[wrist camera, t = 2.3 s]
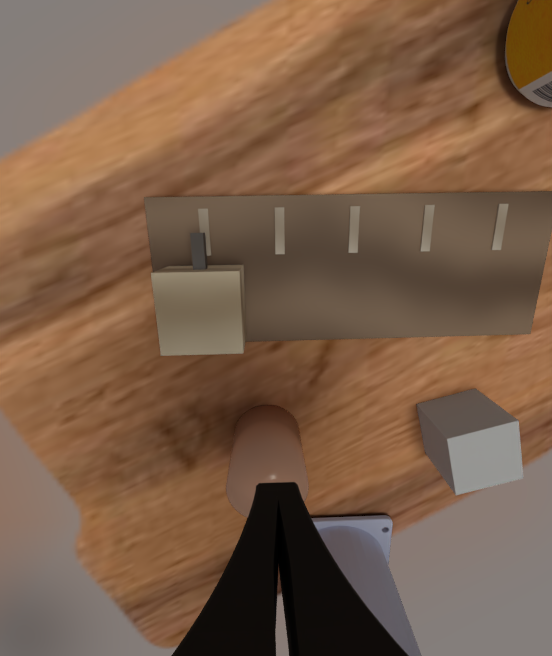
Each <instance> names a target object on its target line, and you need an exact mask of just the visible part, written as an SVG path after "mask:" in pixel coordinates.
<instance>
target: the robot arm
mask: <svg viewBox="0 0 552 656" xmlns="http://www.w3.org/2000/svg"><path fill="white" fill-rule="evenodd" d="M392 525H393V523H392V520H391V518H390V517H389V516H387V515H378V516H353V517H328V518H311V517H310V515H309V512H308V510H307V508H306V506H305V503H304V501H303V499H302V496H301V493H300V490H299V487H298V484H296V483H295V482H276V483H259V484H258V485H257V486H256V491H255V495H254V500H253V503H252V507H251V510H250V513H249V516H248V518H247V521H246V524H245V526H244V529H243V531H242V534H241V536H240V539H239V541H238V543H237V545H236V548H235V550H234V552H233V554H232V556H231V559H230V561H229V563H228V565H227V567H226V569H225V571H224V573H223V575H222V577H221V578H220V580H219V582H218V584H217V586H216V587H215V589H214V591H213V593H212V595H211V596H210V598H209V600H208V601H207V603H206V605H205V606H204V608H203V610H202V611H201V613H200V615H199V616H198V618H197V619H196V621H195V622H194V624H193V626H192V627H191V629H190V630H189V632H188V633H187V634H186V636H185V637H184V639H183V640H182V642H181V643H180V645H179V646H178V647H177V649H176V650H175V652H174V653H173V655H172V656H276V642H275V628H276V606H277V585H278V563H279V571H280V580H281V588H282V597H283V605H284V613H285V620H286V630H287V638H288V647H289V656H421V653H420V650H419V648H418V645H417V642H416V640H415V637H414V634H413V631H412V629H411V626H410V623H409V621H408V618H407V615H406V612H405V610H404V607H403V604H402V601H401V599H400V596H399V593H398V591H397V588H396V585H395V582H394V580H393V577H392V574H391V572H390V569H389V566H388V564H389V554H390V544H391V535H392ZM384 527H386V528H384Z"/></svg>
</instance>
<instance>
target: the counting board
mask: <svg viewBox="0 0 552 656" xmlns="http://www.w3.org/2000/svg"><path fill="white" fill-rule="evenodd" d="M144 202H145V210H146V219H147V227H148V235H149V244H150V252H151V260H152V268H153V272H155V271H157V270H160V269H163V268H166V267H168V266H193V262H192V250H191V238H190V233H205V238H206V251H207V265H244V287H245V310H246V333H247V336H246V341H245V342H250V341H288V340H326V339H364V338H402V337H440V336H478V335H516V334H530V333H531V328H532V323H533V318H534V313H535V309H536V304H537V299H538V294H539V289H540V285H541V280H542V275H543V270H544V265H545V260H546V256H547V251H548V246H549V241H550V236H551V232H552V191H539V192H472V193H406V194H340V195H274V196H207V197H144Z"/></svg>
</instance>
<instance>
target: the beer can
mask: <svg viewBox="0 0 552 656" xmlns="http://www.w3.org/2000/svg"><path fill="white" fill-rule="evenodd" d="M505 63H506V69H507V72H508V75H509V78H510V80H511V82H512V84H513V85H514V87H515V88H516V89H517V90H518V91H519V92H520V93H521V94H522V95H524V96H525V97H526V98H527V99H529V100H530V101H532V102H533V103H536V104H538V105H541V106H545V107H552V0H518V2H517V4H516V6H515V8H514V10H513V13H512V16H511V19H510V22H509V26H508V30H507V36H506V46H505Z"/></svg>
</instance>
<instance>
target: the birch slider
mask: <svg viewBox="0 0 552 656" xmlns="http://www.w3.org/2000/svg"><path fill="white" fill-rule="evenodd" d="M190 238H191V250H192V262H193V266H168V267H166V268H163V269H160V270H157V271H155V272H152V273H151V278H152V287H153V295H154V303H155V311H156V319H157V328H158V336H159V344H160V352H161V356H170V355H206V354H243V353H244V347H245V341H246V336H247V333H246V310H245V287H244V265H207V251H206V238H205V233H190Z"/></svg>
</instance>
